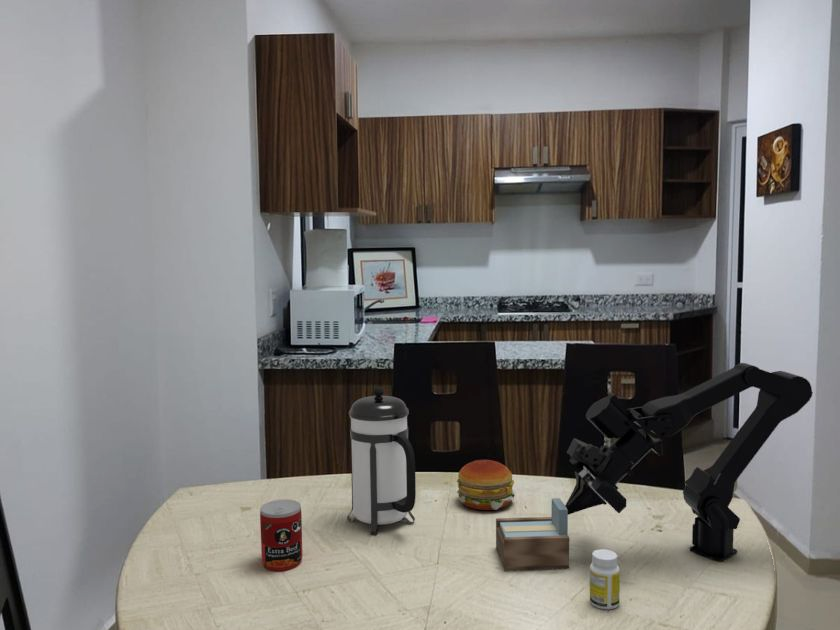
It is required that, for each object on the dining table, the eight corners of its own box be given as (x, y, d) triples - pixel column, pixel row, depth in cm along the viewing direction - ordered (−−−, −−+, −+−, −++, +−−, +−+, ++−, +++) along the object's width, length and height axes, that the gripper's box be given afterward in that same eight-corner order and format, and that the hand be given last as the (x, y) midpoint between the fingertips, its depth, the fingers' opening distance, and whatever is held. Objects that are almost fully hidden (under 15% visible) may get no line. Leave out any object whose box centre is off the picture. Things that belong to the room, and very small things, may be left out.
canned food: (262, 574, 126) (260, 516, 125) (260, 556, 133) (258, 501, 132) (304, 568, 128) (303, 511, 127) (300, 551, 135) (299, 497, 134)
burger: (449, 496, 165) (449, 456, 164) (502, 490, 168) (501, 451, 167) (467, 517, 152) (467, 473, 151) (524, 510, 155) (524, 467, 154)
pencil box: (556, 545, 136) (556, 516, 136) (569, 569, 126) (569, 537, 126) (496, 547, 136) (495, 518, 135) (504, 571, 126) (504, 539, 125)
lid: (558, 524, 134) (558, 496, 134) (568, 540, 127) (568, 511, 127) (500, 526, 134) (499, 498, 133) (506, 542, 127) (506, 512, 126)
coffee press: (334, 534, 143) (331, 393, 140) (359, 506, 159) (356, 379, 156) (415, 542, 139) (413, 396, 136) (432, 512, 154) (431, 381, 152)
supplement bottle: (614, 595, 116) (614, 547, 116) (623, 609, 112) (624, 560, 111) (586, 596, 116) (586, 548, 116) (594, 610, 112) (594, 561, 111)
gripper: (580, 414, 138) (525, 468, 139) (610, 439, 120) (547, 501, 120) (617, 451, 140) (563, 505, 140) (653, 482, 121) (590, 544, 121)
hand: (565, 512), depth 130 cm, fingers closed, pressing on lid
